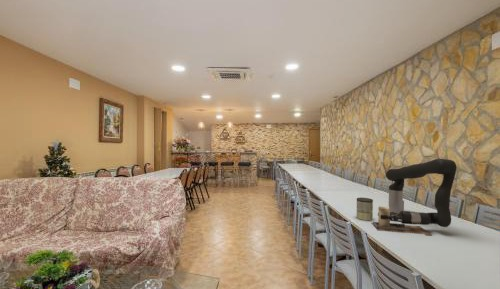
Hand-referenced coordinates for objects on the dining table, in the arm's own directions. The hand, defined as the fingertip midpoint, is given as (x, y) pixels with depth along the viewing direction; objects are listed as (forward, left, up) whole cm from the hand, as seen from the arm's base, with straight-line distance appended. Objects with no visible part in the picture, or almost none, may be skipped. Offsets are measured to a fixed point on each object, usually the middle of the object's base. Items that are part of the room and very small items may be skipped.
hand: (379, 215), depth 152 cm
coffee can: (+1, -17, -8) cm, 18 cm away
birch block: (-3, +1, -7) cm, 7 cm away
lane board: (-11, +3, -7) cm, 13 cm away
